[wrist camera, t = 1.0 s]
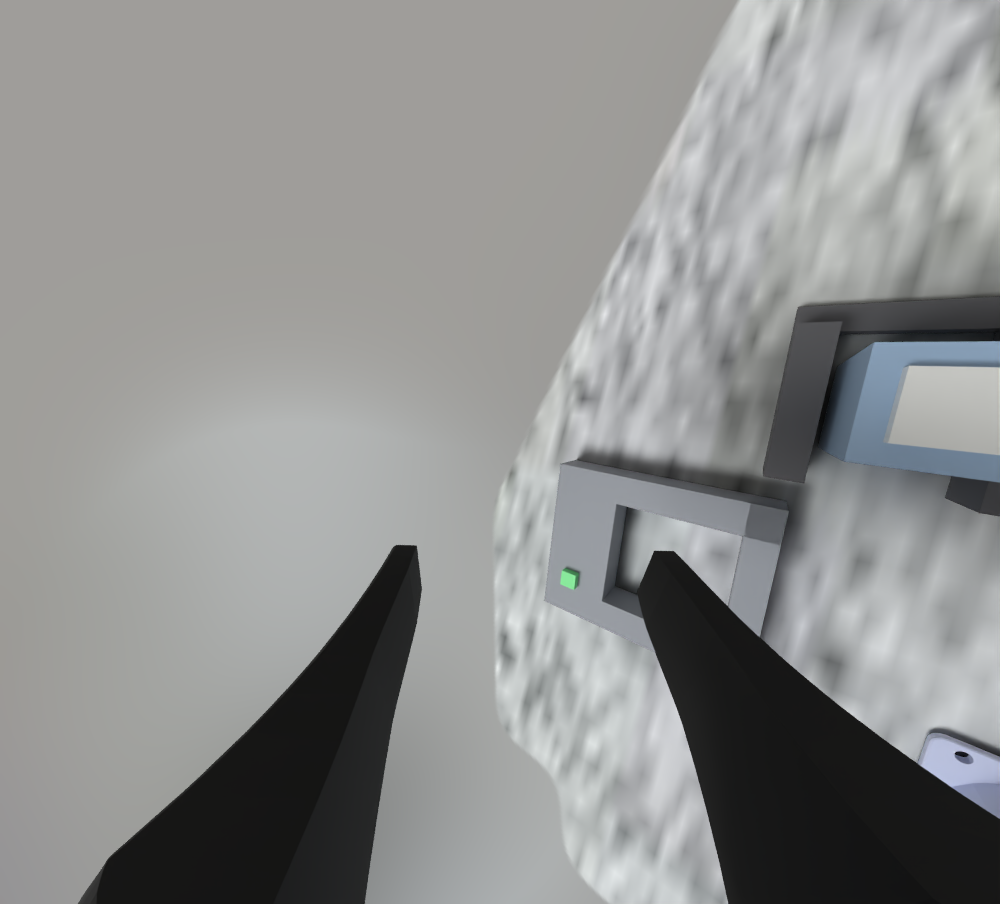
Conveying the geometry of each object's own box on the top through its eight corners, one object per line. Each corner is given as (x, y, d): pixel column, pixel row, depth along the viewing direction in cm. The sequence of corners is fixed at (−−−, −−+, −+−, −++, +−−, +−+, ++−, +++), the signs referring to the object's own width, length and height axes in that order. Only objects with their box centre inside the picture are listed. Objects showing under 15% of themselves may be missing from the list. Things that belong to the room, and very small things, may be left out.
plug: (964, 369, 15) (1105, 336, 9) (937, 462, 16) (1050, 491, 10) (837, 366, 17) (879, 339, 11) (817, 447, 18) (847, 463, 12)
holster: (1070, 297, 13) (1138, 271, 11) (1000, 506, 15) (1047, 524, 12) (797, 310, 18) (802, 294, 16) (762, 468, 19) (763, 476, 17)
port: (785, 501, 19) (789, 513, 16) (747, 667, 20) (745, 701, 18) (576, 460, 26) (557, 464, 23) (560, 587, 27) (540, 603, 25)
